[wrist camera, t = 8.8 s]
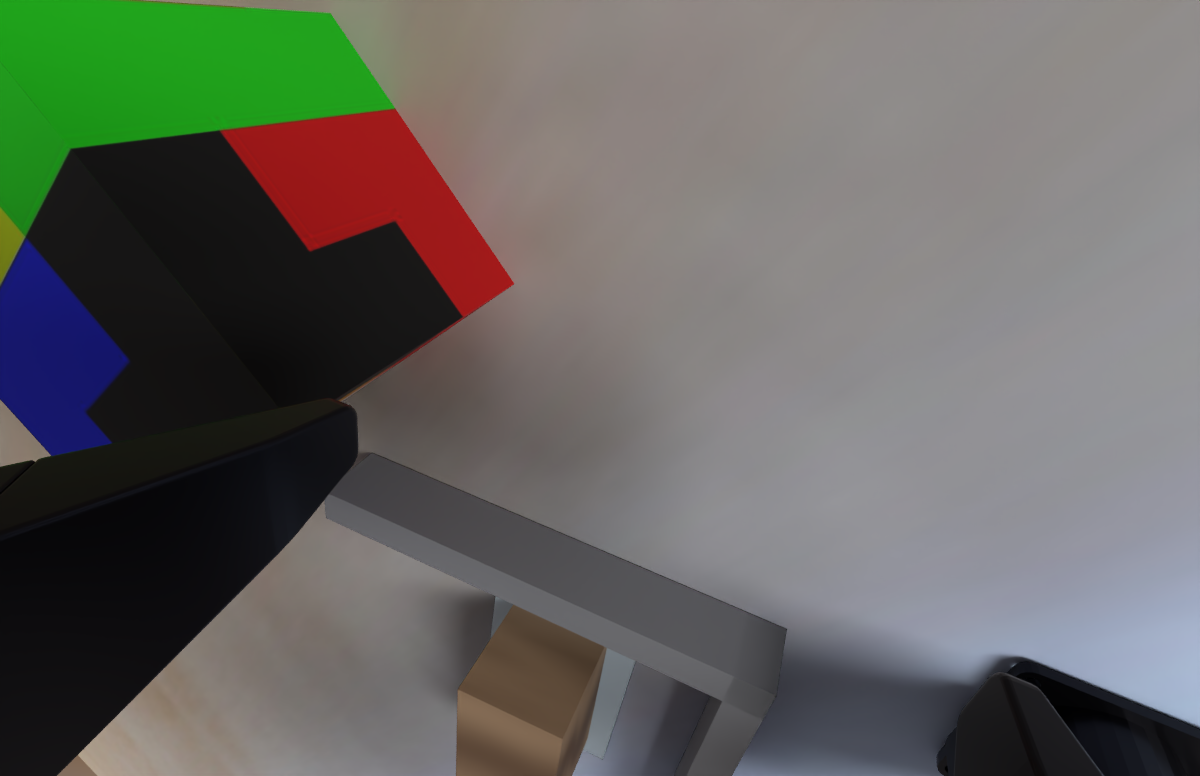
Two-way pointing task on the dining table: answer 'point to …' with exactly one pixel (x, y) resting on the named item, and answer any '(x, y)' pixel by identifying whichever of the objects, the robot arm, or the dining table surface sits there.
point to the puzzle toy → (209, 219)
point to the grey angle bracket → (580, 597)
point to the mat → (608, 693)
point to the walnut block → (528, 700)
